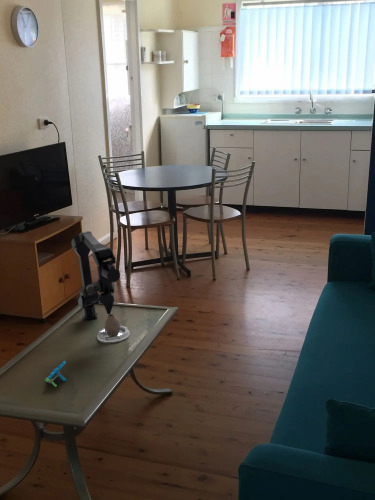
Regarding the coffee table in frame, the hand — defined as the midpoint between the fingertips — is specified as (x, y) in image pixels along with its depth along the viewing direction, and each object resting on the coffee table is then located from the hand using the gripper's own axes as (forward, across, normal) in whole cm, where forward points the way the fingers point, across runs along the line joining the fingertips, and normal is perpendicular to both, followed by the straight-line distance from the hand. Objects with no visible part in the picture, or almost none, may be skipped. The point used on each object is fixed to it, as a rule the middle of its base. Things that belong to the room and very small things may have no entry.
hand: (109, 310), depth 248 cm
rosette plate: (+12, +1, +1) cm, 12 cm away
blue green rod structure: (+12, +36, -21) cm, 43 cm away
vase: (+11, +1, +1) cm, 11 cm away
